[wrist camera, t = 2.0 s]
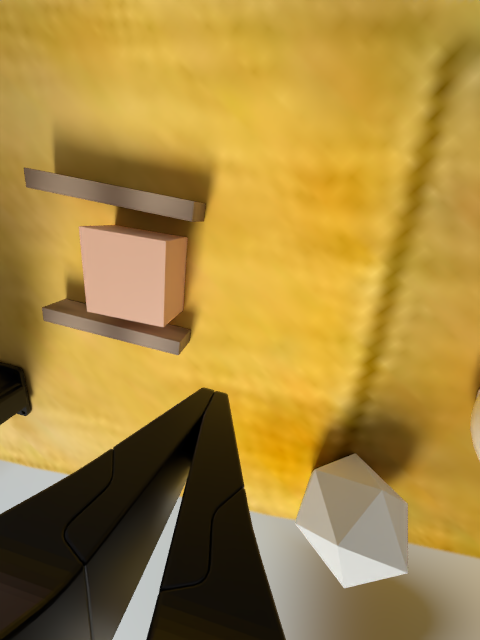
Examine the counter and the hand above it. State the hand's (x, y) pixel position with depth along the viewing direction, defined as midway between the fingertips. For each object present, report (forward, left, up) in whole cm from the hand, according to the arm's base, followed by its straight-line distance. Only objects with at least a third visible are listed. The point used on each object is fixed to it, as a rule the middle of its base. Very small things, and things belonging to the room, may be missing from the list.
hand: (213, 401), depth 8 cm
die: (+12, -16, -13) cm, 24 cm away
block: (-9, 0, -13) cm, 16 cm away
